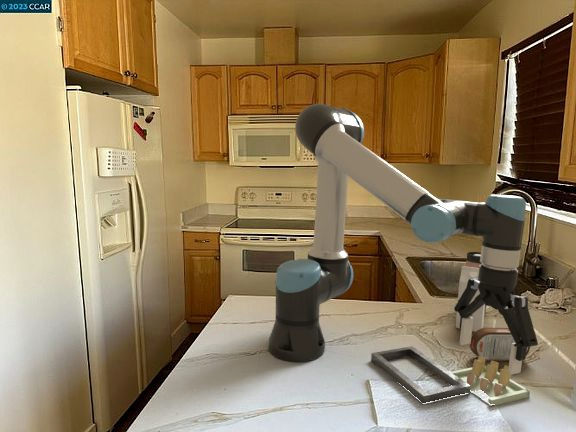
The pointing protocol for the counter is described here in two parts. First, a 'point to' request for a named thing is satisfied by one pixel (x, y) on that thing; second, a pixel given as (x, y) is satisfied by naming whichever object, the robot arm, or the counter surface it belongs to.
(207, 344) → the counter surface
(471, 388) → the tray pad
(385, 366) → the gray rectangular frame
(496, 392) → the ammunition
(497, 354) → the tin
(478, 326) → the milk carton
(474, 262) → the travel mug
